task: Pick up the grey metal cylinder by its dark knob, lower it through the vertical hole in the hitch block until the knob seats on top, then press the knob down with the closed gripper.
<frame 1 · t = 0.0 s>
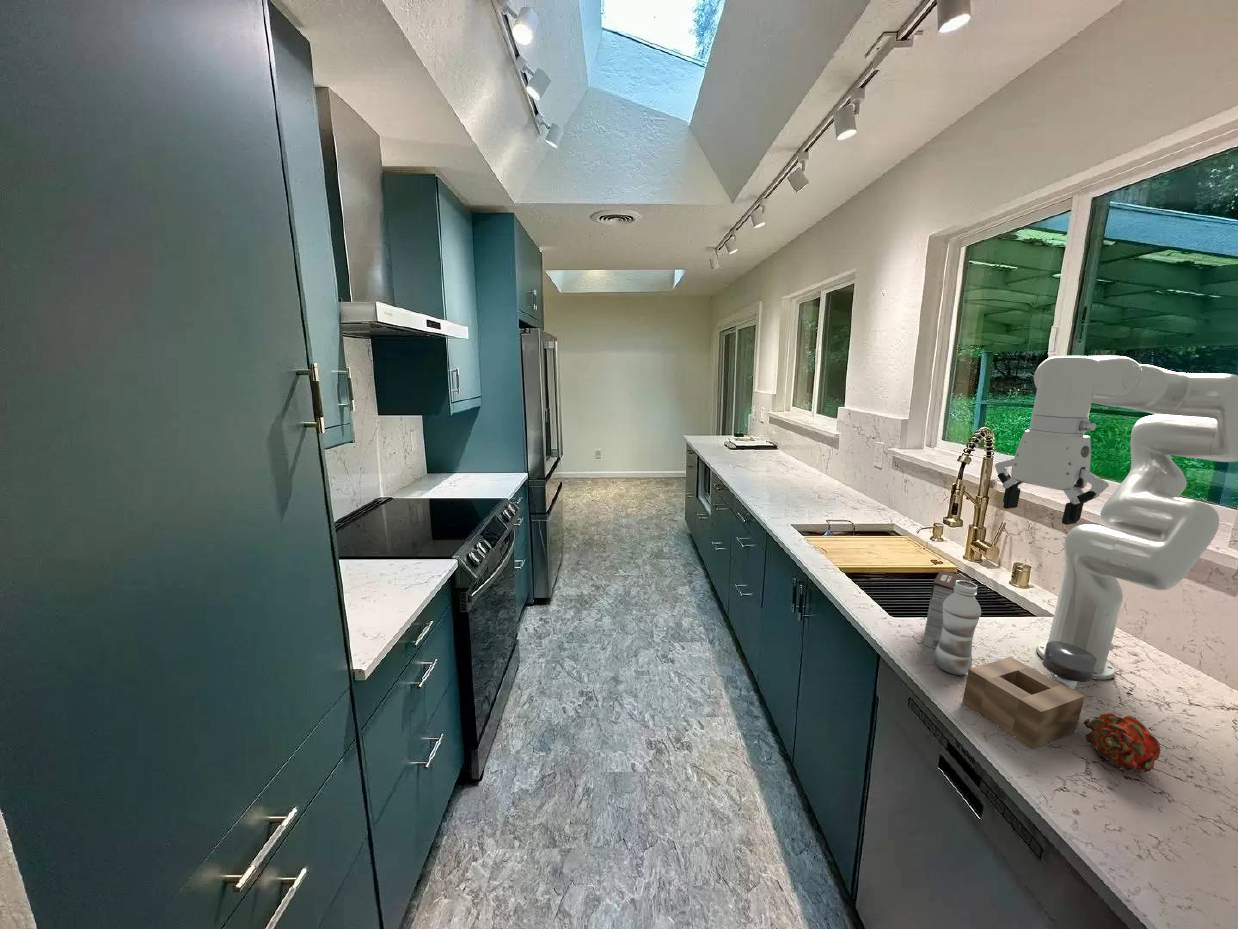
hand: (1038, 515, 89), 37 cm above the worktop, tool pointing down, fingers open, 9 cm apart
plastic bottle: (950, 670, 102), on the worktop
hitch block: (1016, 716, 88), on the worktop
grey metal cylinder: (1058, 701, 92), on the worktop
coffee box: (941, 643, 112), on the worktop
dragon fruit: (1115, 759, 79), on the worktop
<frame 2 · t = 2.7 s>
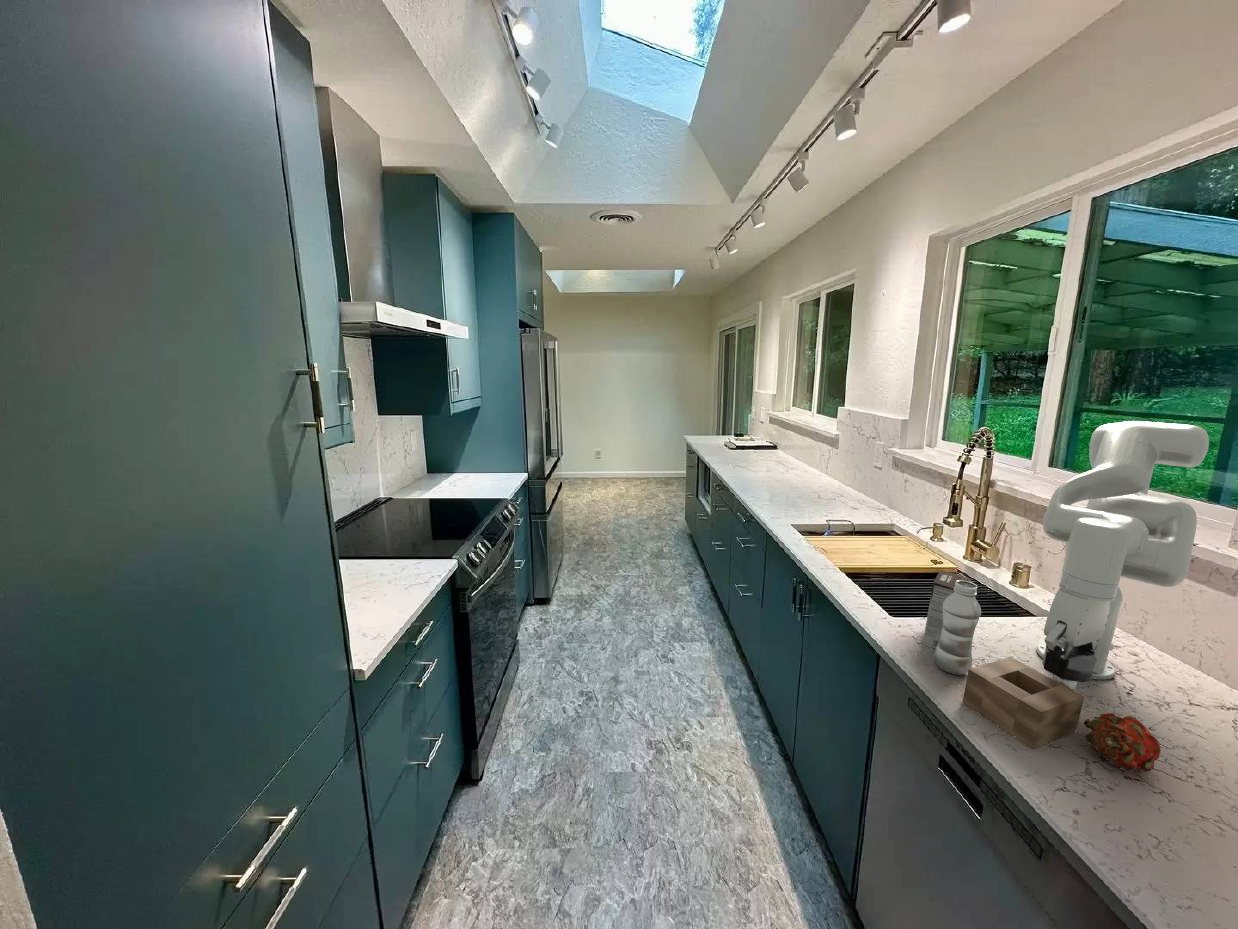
hand: (1066, 669, 91), 7 cm above the worktop, tool pointing down, fingers closed on grey metal cylinder, 7 cm apart
grey metal cylinder: (1058, 701, 92), on the worktop, touching gripper
everything else where it was.
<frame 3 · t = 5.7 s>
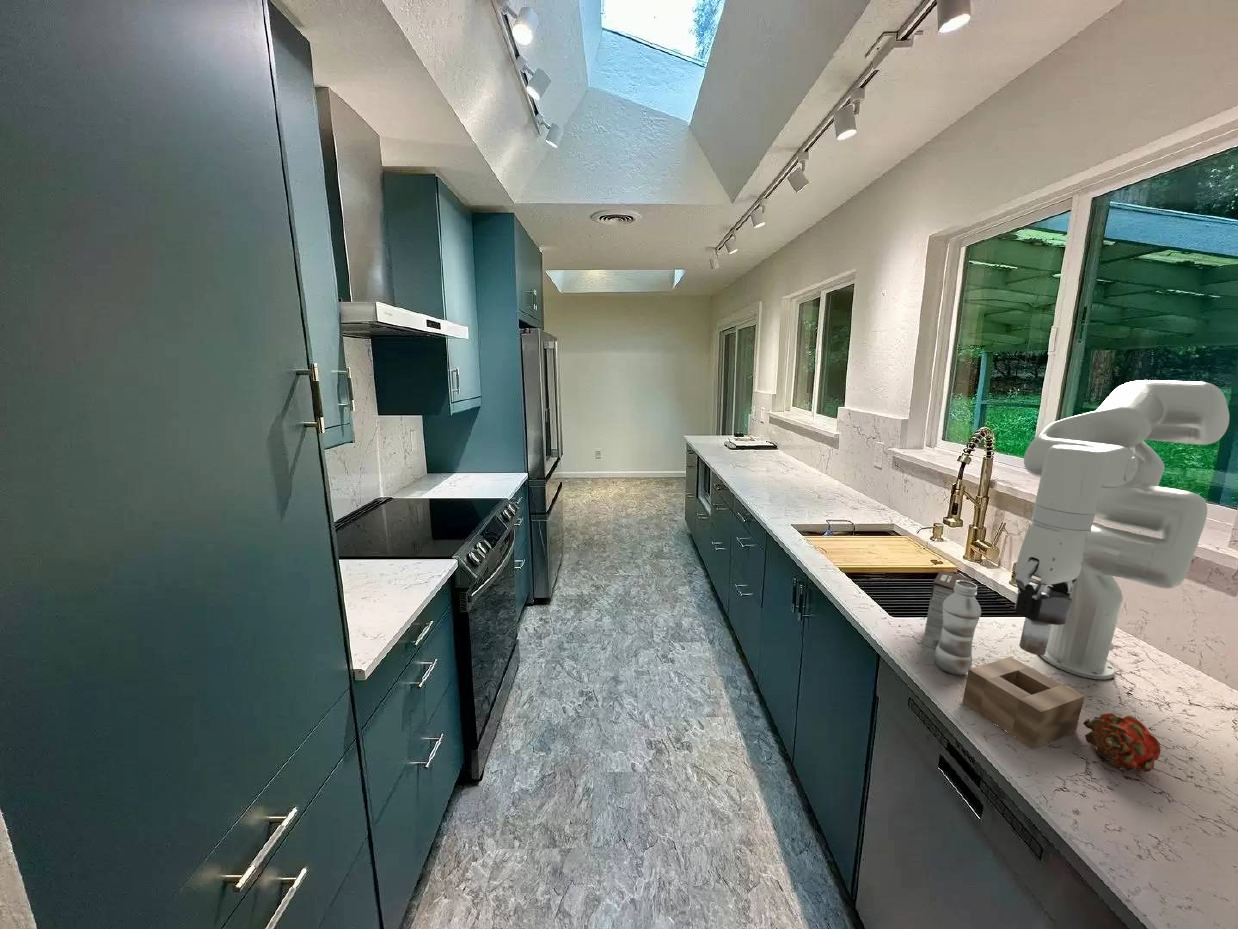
hand: (1040, 612, 84), 22 cm above the worktop, tool pointing down, fingers closed on grey metal cylinder, 7 cm apart
grey metal cylinder: (1032, 649, 85), point 14 cm above the worktop, touching gripper
everything else where it was.
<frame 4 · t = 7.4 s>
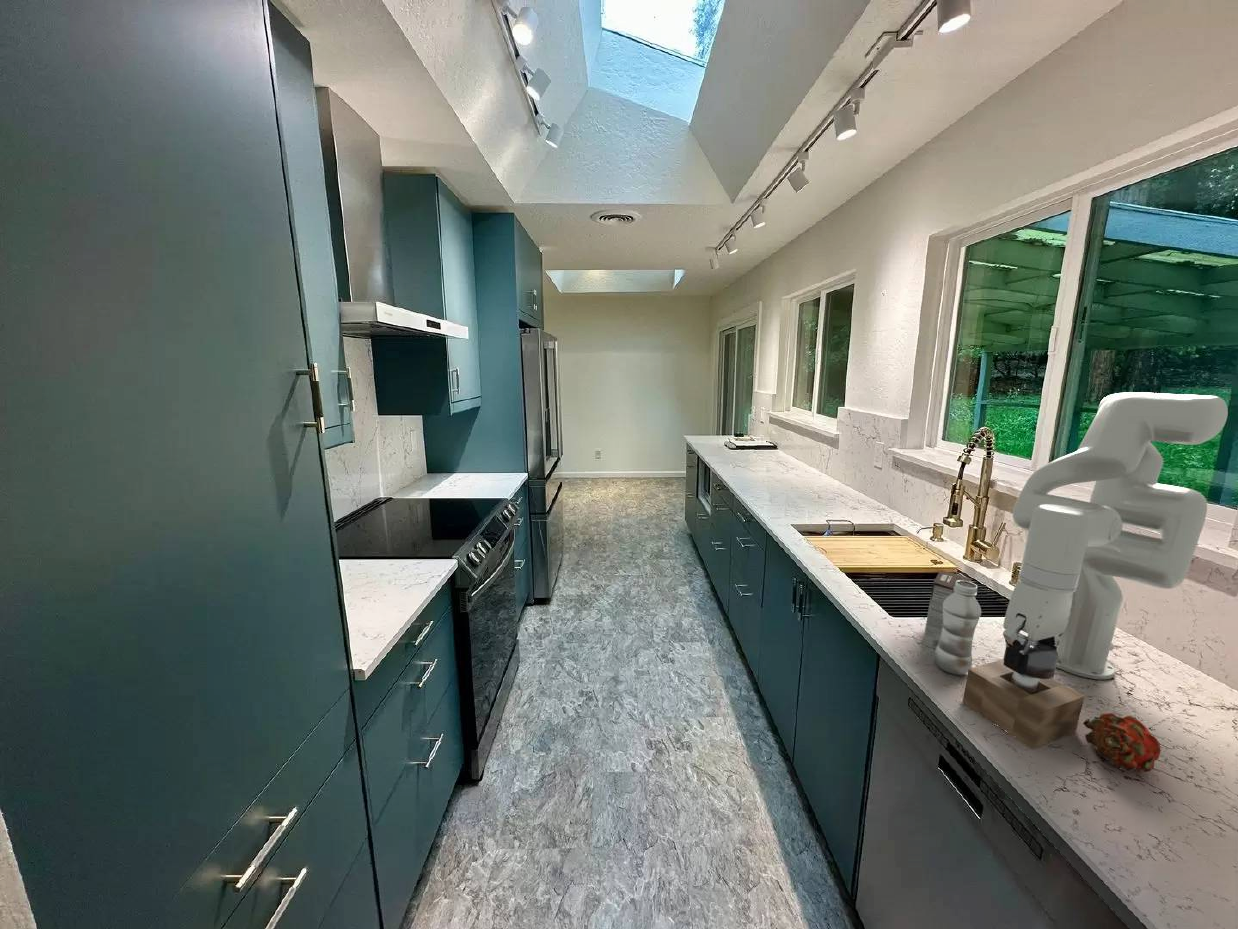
hand: (1027, 665, 86), 11 cm above the worktop, tool pointing down, fingers closed on grey metal cylinder, 7 cm apart
grey metal cylinder: (1020, 699, 87), point 4 cm above the worktop, touching gripper
everything else where it was.
when the fingers open (8 cm above the worktop, at t = 8.6 s): grey metal cylinder stays where it is, resting on hitch block.
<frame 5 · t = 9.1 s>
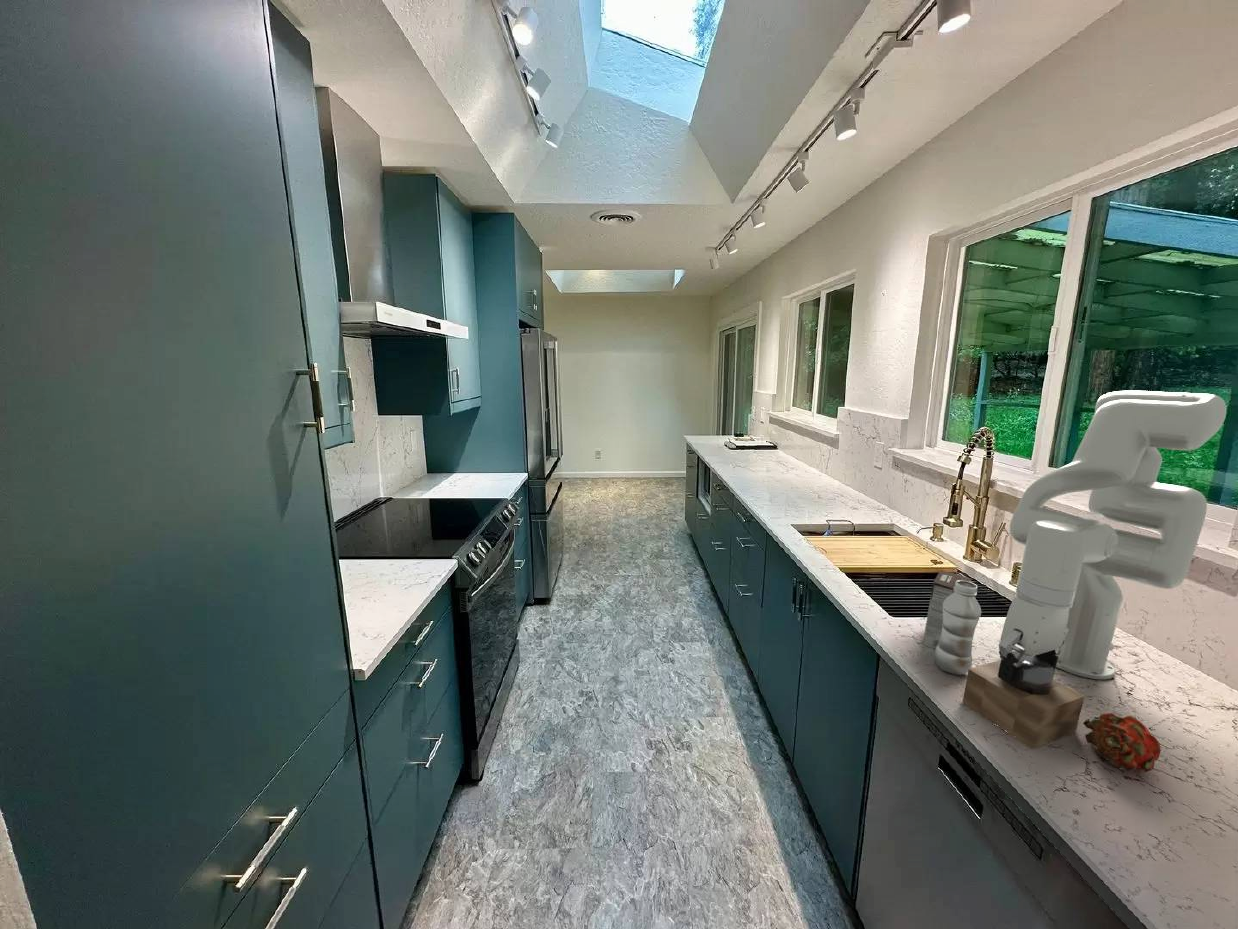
hand: (1025, 676, 86), 9 cm above the worktop, tool pointing down, fingers open, 9 cm apart
grey metal cylinder: (1017, 714, 88), resting on hitch block
everything else where it was.
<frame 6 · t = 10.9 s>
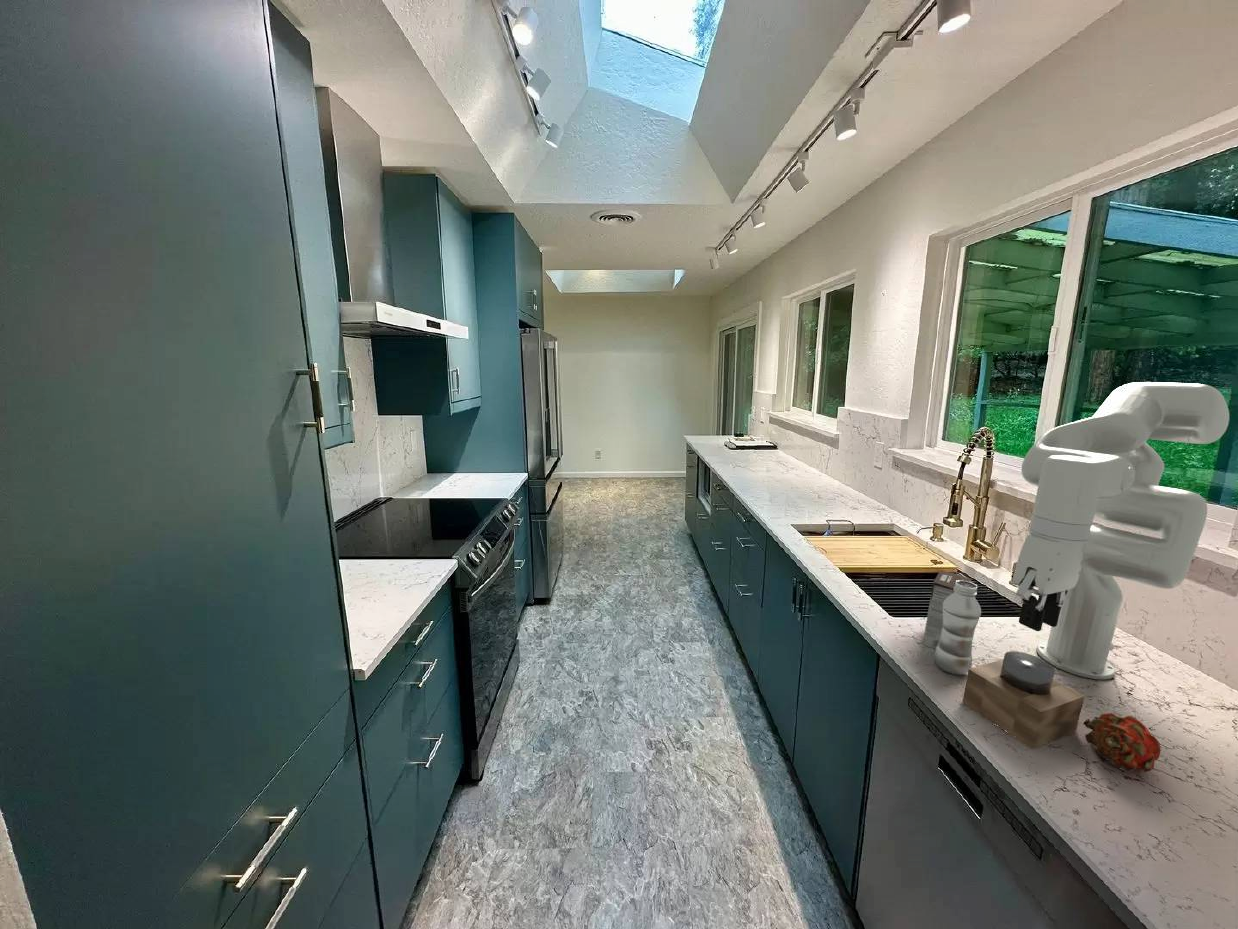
hand: (1037, 624, 84), 19 cm above the worktop, tool pointing down, fingers open, 3 cm apart
nothing on the worktop moved.
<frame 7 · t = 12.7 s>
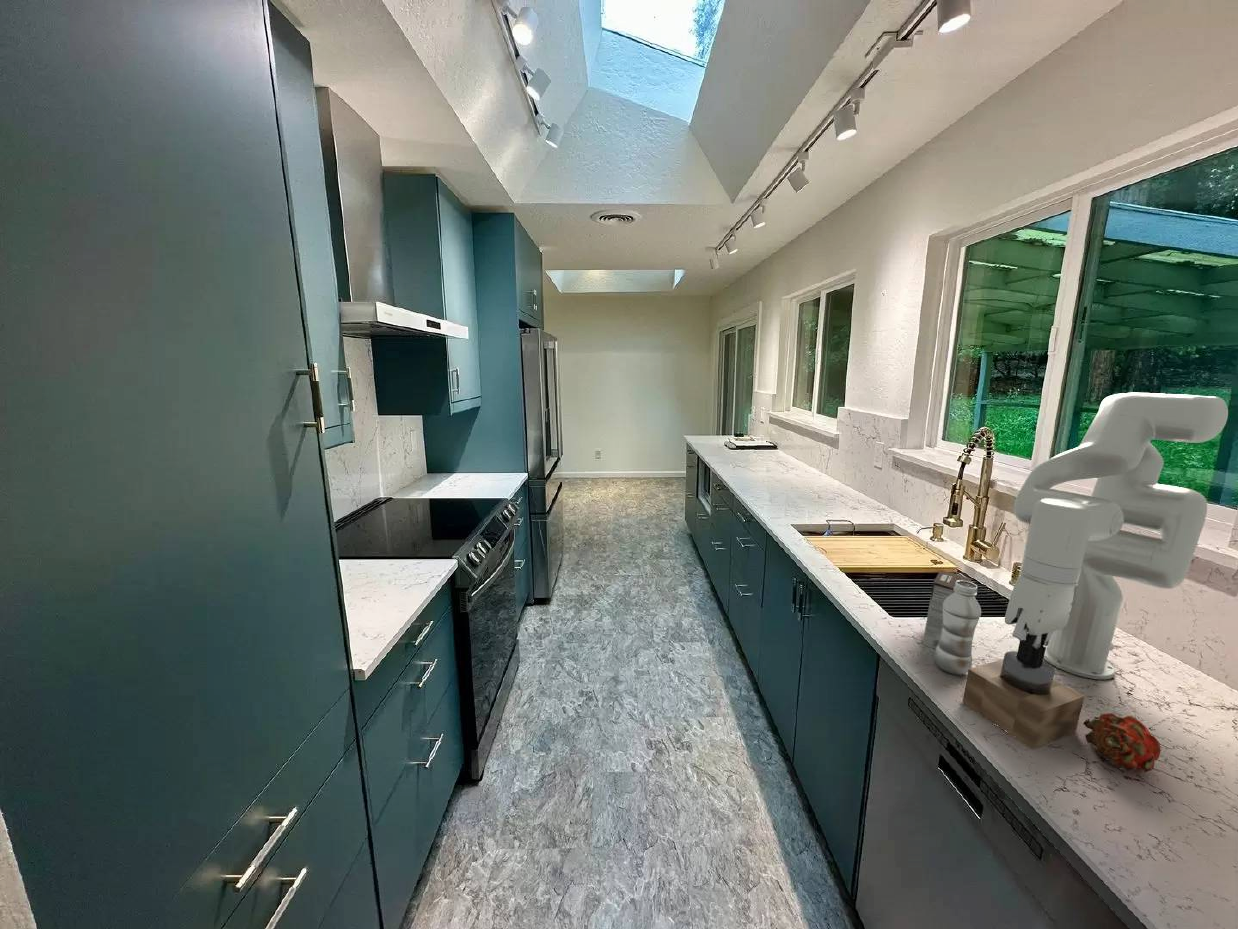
hand: (1028, 662, 86), 11 cm above the worktop, tool pointing down, fingers closed
grey metal cylinder: (1017, 714, 88), resting on hitch block, touching gripper
everything else where it was.
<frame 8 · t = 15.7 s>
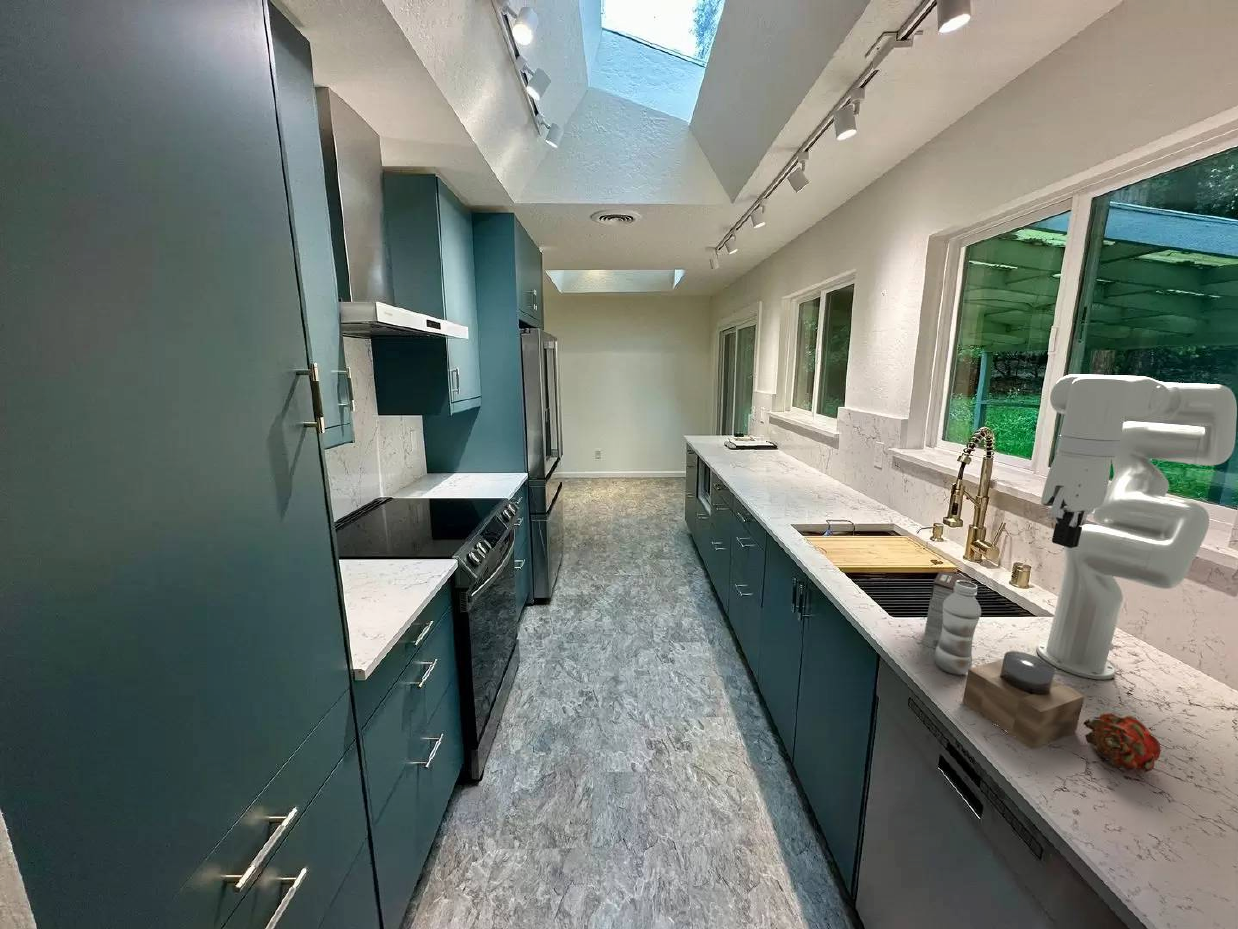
hand: (1064, 544, 87), 32 cm above the worktop, tool pointing down, fingers closed
grey metal cylinder: (1017, 714, 88), resting on hitch block
everything else where it was.
at the end: grey metal cylinder 0.1 cm off-centre on the hitch block, point 0.4 cm above the hitch block's base; grey metal cylinder tilted 0°; the gripper is holding nothing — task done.
